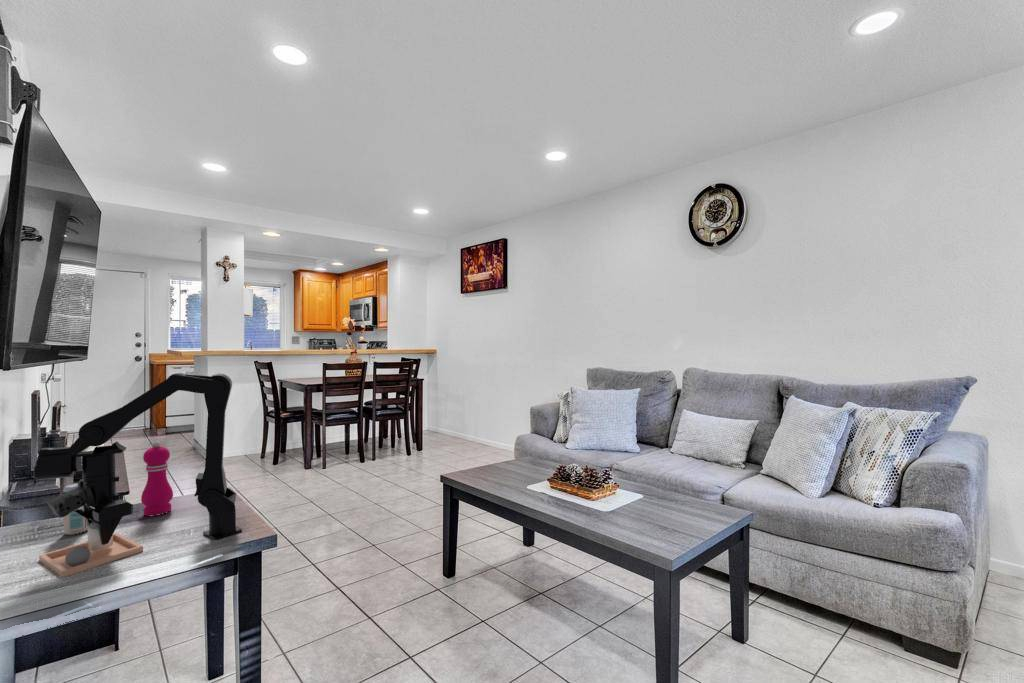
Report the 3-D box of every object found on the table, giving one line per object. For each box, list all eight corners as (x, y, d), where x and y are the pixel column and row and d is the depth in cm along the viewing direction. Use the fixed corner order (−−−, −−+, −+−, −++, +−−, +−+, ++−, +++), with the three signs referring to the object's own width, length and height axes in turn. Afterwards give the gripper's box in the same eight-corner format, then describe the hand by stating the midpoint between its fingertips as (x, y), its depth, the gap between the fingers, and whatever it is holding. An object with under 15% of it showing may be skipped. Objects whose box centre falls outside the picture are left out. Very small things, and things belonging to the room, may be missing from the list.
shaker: (116, 544, 112) (116, 520, 112) (92, 552, 109) (91, 527, 108) (108, 540, 115) (108, 517, 114) (84, 547, 111) (84, 523, 111)
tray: (143, 553, 111) (143, 546, 111) (62, 579, 99) (62, 571, 99) (117, 539, 119) (117, 532, 119) (39, 562, 107) (39, 555, 107)
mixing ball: (93, 564, 105) (93, 545, 105) (69, 572, 102) (69, 552, 101) (86, 559, 107) (86, 541, 107) (62, 567, 104) (62, 548, 104)
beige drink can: (81, 527, 126) (80, 481, 126) (93, 529, 125) (92, 483, 124) (59, 534, 122) (58, 486, 121) (71, 537, 120) (70, 488, 120)
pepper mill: (156, 518, 132) (155, 444, 132) (134, 516, 134) (133, 443, 133) (179, 508, 139) (178, 438, 139) (158, 507, 141) (157, 437, 140)
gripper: (37, 476, 109) (39, 545, 110) (68, 490, 100) (70, 566, 100) (99, 464, 119) (100, 528, 119) (133, 476, 109) (134, 546, 109)
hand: (100, 541), depth 112 cm, fingers closed on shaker, 4 cm apart
